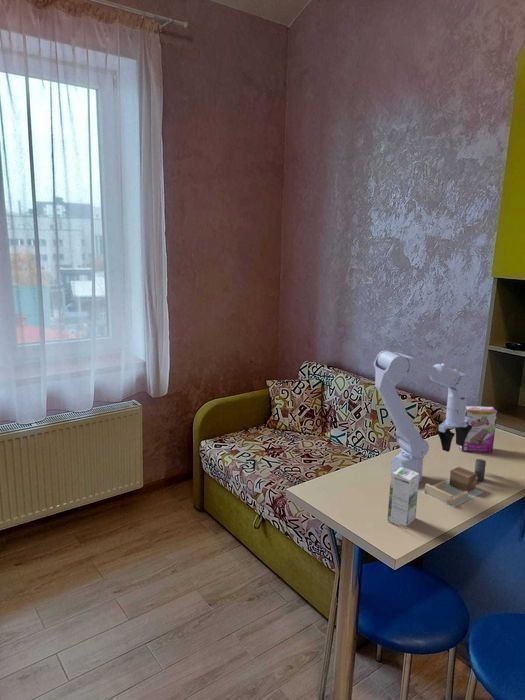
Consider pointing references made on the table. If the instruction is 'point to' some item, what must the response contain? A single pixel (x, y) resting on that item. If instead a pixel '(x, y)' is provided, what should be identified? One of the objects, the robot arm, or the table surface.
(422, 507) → the table surface
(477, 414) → the candy bar box
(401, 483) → the syrup box
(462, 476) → the brown piece
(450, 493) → the lane board
